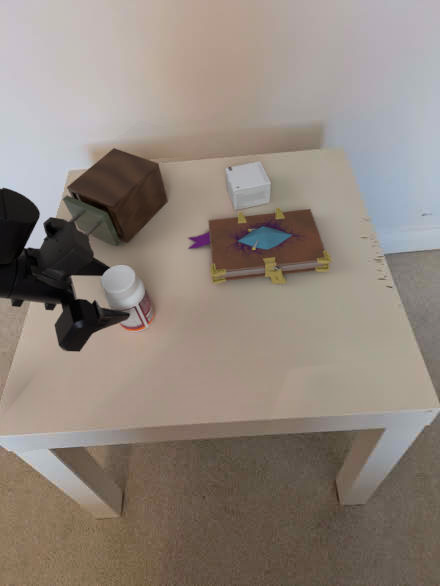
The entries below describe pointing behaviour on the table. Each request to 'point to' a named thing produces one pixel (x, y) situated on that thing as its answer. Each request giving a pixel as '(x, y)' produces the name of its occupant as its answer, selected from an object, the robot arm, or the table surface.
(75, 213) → the drawer
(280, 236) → the book
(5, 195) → the robot arm
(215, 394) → the table surface
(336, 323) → the table surface
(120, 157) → the cabinet
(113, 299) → the pill bottle
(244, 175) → the small box
